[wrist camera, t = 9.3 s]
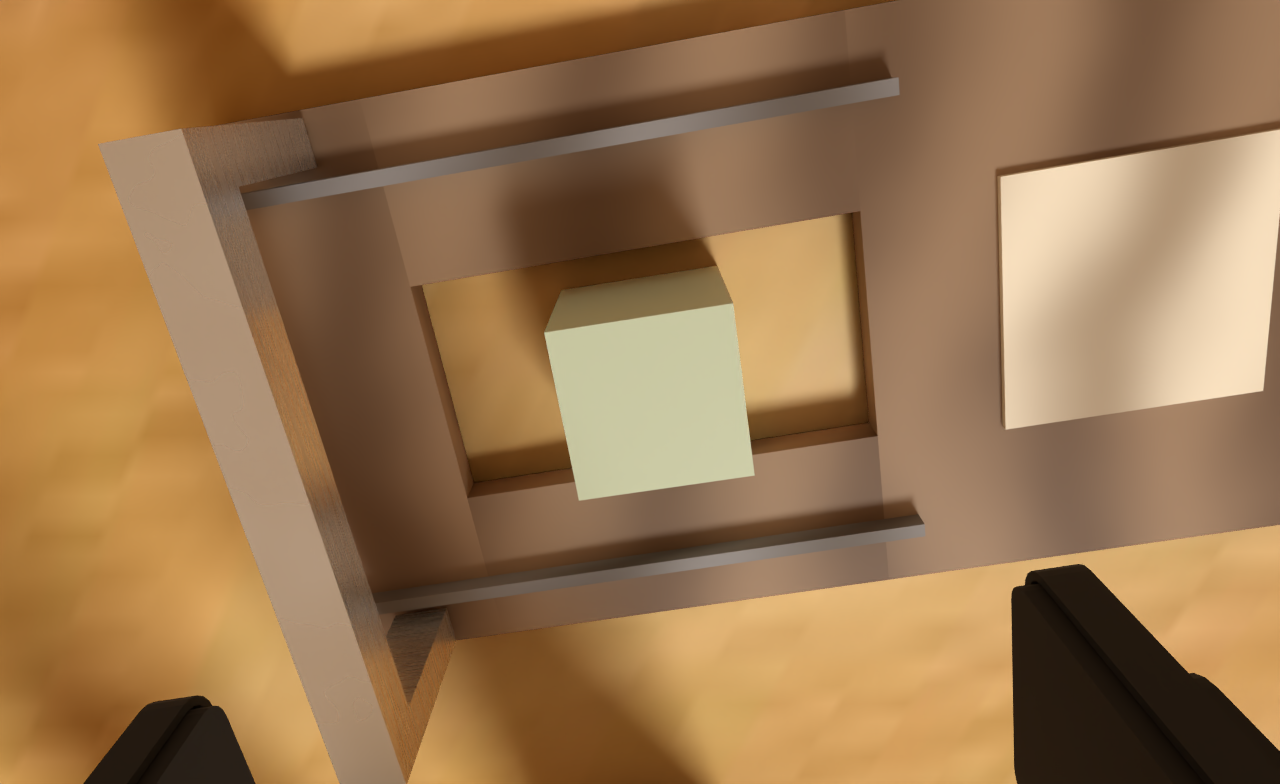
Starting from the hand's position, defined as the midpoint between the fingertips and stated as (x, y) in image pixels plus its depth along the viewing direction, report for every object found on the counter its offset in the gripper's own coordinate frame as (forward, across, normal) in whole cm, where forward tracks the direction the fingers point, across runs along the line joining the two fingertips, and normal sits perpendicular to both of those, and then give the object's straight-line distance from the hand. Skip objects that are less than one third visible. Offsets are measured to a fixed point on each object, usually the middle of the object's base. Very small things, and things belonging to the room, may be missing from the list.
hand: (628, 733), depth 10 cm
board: (+15, -5, 0) cm, 16 cm away
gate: (+14, +8, 0) cm, 16 cm away
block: (+15, -1, 0) cm, 15 cm away
